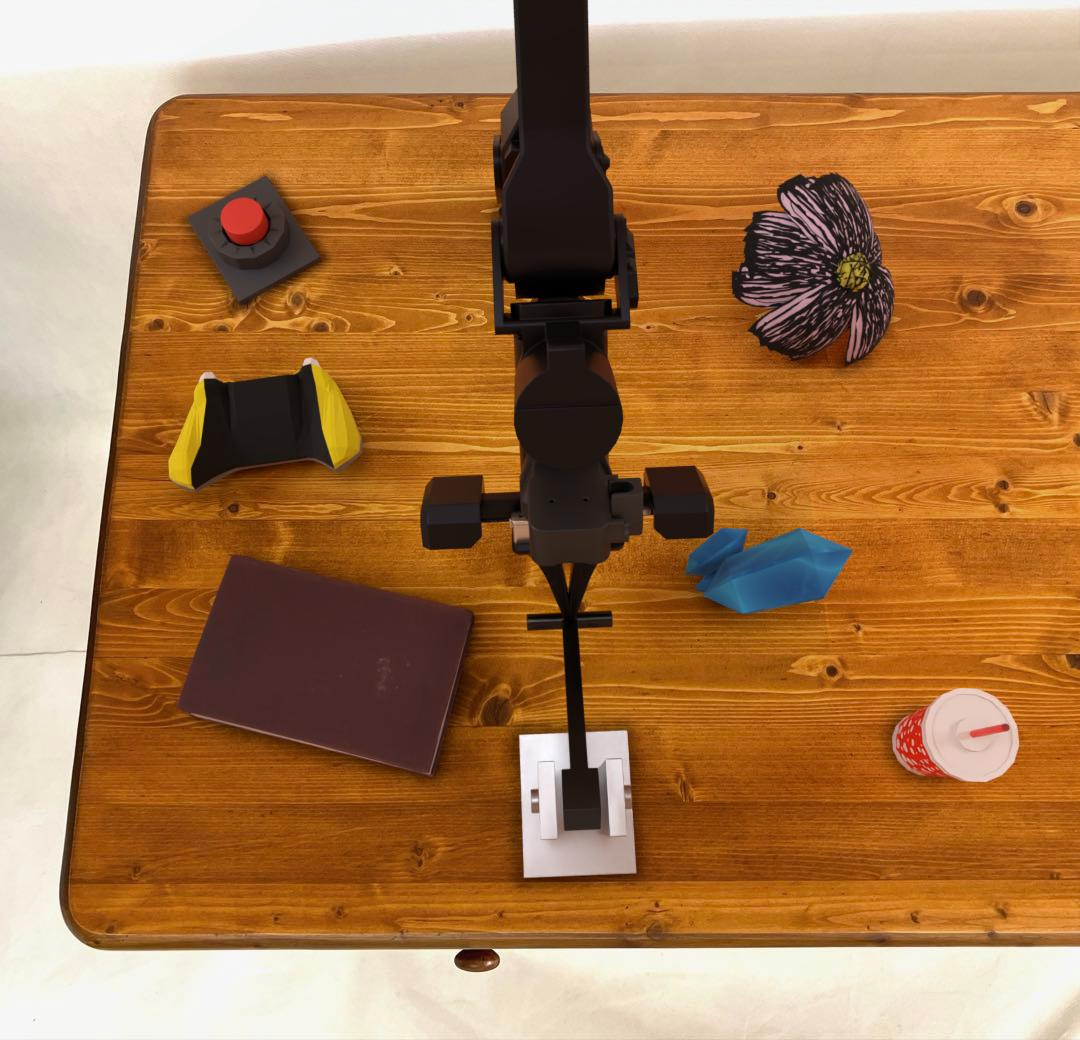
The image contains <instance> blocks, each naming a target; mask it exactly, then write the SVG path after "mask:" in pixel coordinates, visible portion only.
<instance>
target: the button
mask: <svg viewBox="0 0 1080 1040" xmlns="http://www.w3.org/2000/svg"><path fill="white" fill-rule="evenodd" d="M221 223H222V225H223V227H224V229H225V231H226V233H227V234H228V236H229V238H230V239H231V240H232V241H233V242H235V243H237V244H240V245H252V244H255V243H257V242H259V241H260V240H261V239H262V238H263V237H264V236H265V235H266V233H267V230H268V220H267V218H266V216H265V214H264V212H263V210H262V208H261V206H260V205H259V203H257V202H256V201H255V200H253V199H250V198H238V199H234V200H232V201H231V202H229V203H228V204H227V205H226V206H225V207H224V208H223V210H222V213H221Z"/></svg>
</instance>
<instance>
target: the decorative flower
mask: <svg viewBox="0 0 1080 1040" xmlns="http://www.w3.org/2000/svg"><path fill="white" fill-rule="evenodd" d="M828 172H829V173H827V174H821V175H820V176H819V177H817V176H815V175H811V176H804V175H803V174H802V173H799V174H796V175H794V176H793V177H791V178H788V179H786V180H785V181H784V182H783V183H781V184H779V185H777V188H776V198H777V202H778V203H779V205H780V208H781V209H782V210H783V211H779V210H768V209H767V210H766V209H765V210H758V211H752V216H751V222H750V223H749V224H748V225H747V226H746V227H745V228H743V229H742V231H744V232H745V233H746V234H745V235H744V237H743V239H742V242H744V243H745V244H744V249H743V258H744V262H742V261H741V262H740V264H739V267H738V269H736V270H731V294H732V295H733V298H735V299H736V300H738V301H739V302H740V303H742V304H744V305H746V306H750V307H754V308H760V309H765V310H769V311H768V312H766V313H765V314H764V315H762V316H760V317H759V318H758V319H757V320H756V321H754V322H753V323H752V325H751V326H750V327H749V328H748V329H747V332H749V333H751V334H752V336H753V337H756V338H757V339H758V342H759V347H766V348H767V350H768V351H769V352H773V351H774V352H776V353H778V354H779V355H781V356H787V357H786V358H788V360H787V361H786V362H798V361H801V360H805V359H808V358H810V357H812V356H815V355H816V354H819V353H820V352H822V351H824V350H825V349H827V348H829V347H830V346H832V345H833V344H834V343H836V342H837V341H838V340H840V339H842V337H843V336H844V335H845V334H846V333H847V331H848V337H847V343H846V349H845V353H844V354H845V355H844V357H843V364H844V365H843V366H844V368H847V367H849V366H850V365H853V364H855V363H856V362H858V361H862V360H864V359H865V358H866V357H867V356H868V355H869V354H871V353H872V352H873V351H874V349H875V348H876V347H877V346H878V344H880V342H881V341H882V340H883V337H884V336H885V334H886V332H887V330H888V328H889V325H890V322H891V321H892V317H893V312H894V305H895V303H894V302H895V286H894V281H893V277H892V273H891V271H890V270H889V269H888V268H887V267H886V266H883V265H882V264H883V250H882V246H881V245H882V244H881V241H880V239H879V236H878V234H877V232H876V230H875V228H874V227H875V226H874V222H873V218H872V214H871V212H870V210H869V208H868V205H867V203H866V202H865V200H864V199H863V197H862V195H861V194H860V193H859V191H858V190H857V189H856V188H855V186H854V185H853V183H851V182H850V180H848V179H847V178H846V177H845V176H842V175H840V174H839V173H837V171H835V170H834V172H831V171H828Z"/></svg>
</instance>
